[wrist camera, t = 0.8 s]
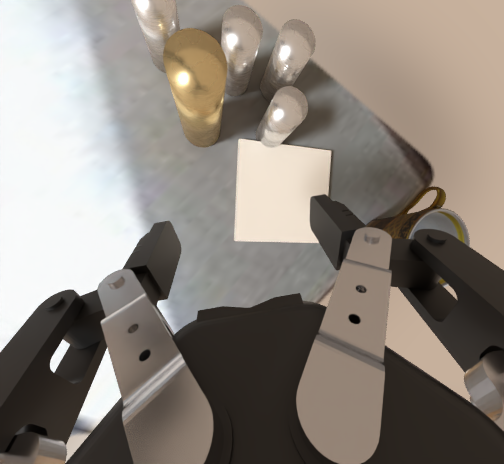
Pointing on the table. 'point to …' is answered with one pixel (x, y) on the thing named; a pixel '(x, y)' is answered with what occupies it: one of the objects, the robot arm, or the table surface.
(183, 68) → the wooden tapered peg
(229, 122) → the table surface
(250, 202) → the pad
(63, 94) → the table surface
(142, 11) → the spacers
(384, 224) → the ceramic cup
